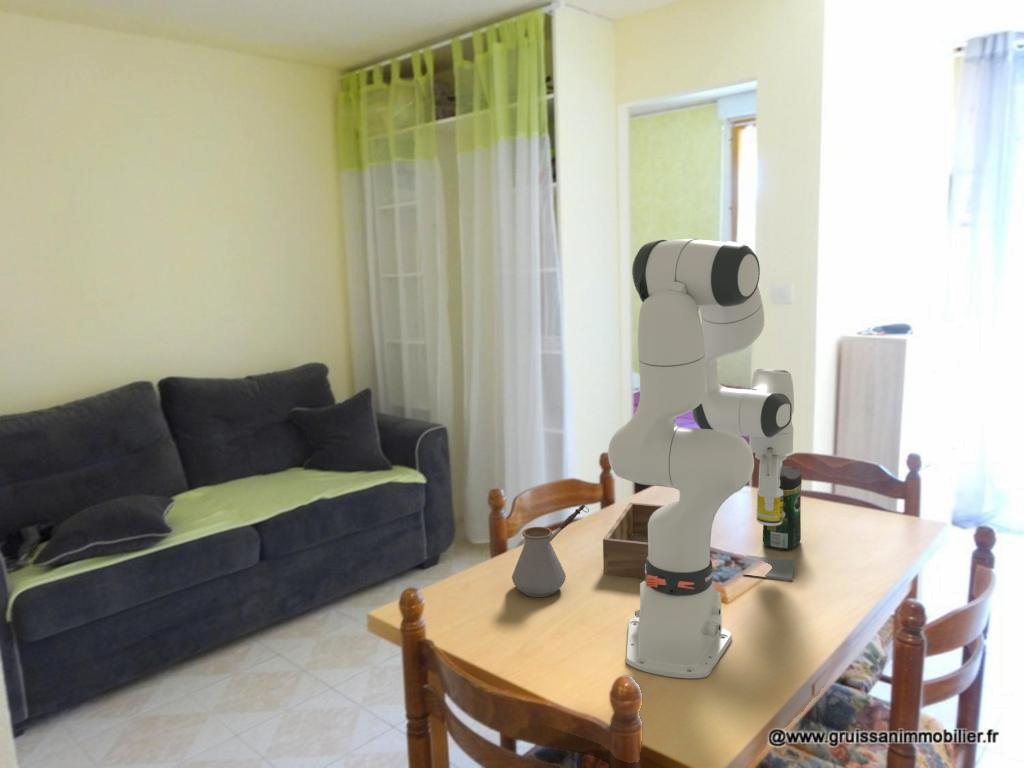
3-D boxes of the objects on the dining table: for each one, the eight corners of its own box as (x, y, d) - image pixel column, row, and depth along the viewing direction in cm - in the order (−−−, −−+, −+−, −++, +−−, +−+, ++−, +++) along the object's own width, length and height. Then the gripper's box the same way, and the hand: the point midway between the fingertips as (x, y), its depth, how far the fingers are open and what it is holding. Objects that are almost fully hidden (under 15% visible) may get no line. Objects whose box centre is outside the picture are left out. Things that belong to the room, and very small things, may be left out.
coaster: (792, 581, 155) (792, 578, 155) (743, 575, 159) (743, 572, 159) (793, 562, 164) (793, 560, 164) (746, 557, 168) (746, 555, 168)
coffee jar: (771, 534, 181) (772, 461, 178) (804, 540, 177) (806, 466, 174) (757, 546, 174) (758, 471, 171) (791, 553, 169) (793, 476, 166)
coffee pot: (539, 606, 148) (536, 536, 146) (501, 590, 156) (498, 523, 154) (607, 573, 162) (605, 509, 160) (568, 560, 171) (567, 498, 168)
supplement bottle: (784, 527, 157) (785, 483, 155) (758, 526, 158) (758, 482, 156) (780, 518, 162) (781, 475, 160) (755, 517, 163) (755, 475, 161)
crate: (666, 581, 157) (666, 546, 156) (603, 573, 162) (602, 539, 161) (686, 538, 181) (686, 507, 179) (630, 532, 186) (629, 502, 185)
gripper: (785, 456, 146) (783, 522, 148) (788, 432, 165) (786, 491, 167) (752, 454, 148) (751, 519, 151) (758, 431, 167) (757, 489, 169)
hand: (770, 504), depth 159 cm, fingers closed on supplement bottle, 5 cm apart
